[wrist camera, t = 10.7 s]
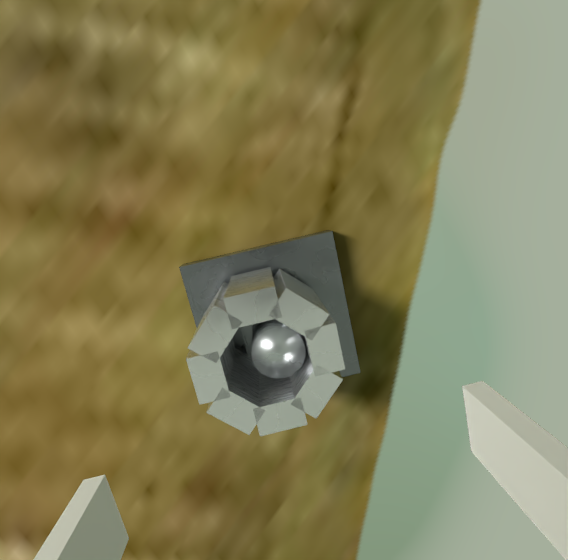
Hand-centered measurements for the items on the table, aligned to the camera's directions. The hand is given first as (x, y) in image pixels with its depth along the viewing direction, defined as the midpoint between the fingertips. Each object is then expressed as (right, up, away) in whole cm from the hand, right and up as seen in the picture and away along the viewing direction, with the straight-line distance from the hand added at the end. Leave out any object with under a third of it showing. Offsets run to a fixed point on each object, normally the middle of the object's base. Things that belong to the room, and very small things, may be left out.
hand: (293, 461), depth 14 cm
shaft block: (-1, +3, +18) cm, 18 cm away
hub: (-2, +3, +16) cm, 16 cm away
